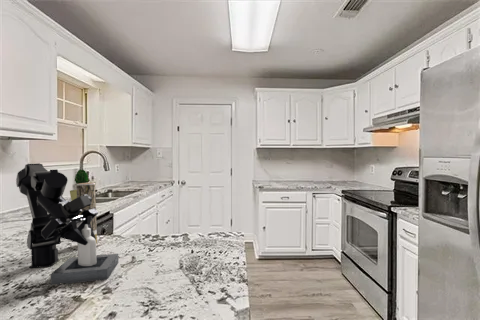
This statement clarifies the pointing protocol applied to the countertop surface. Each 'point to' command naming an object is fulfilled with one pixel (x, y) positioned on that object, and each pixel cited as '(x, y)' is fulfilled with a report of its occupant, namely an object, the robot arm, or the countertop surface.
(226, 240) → the countertop surface
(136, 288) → the countertop surface
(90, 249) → the eye dropper bottle
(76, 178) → the potted cactus
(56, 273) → the hollow square frame
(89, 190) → the wooden log
